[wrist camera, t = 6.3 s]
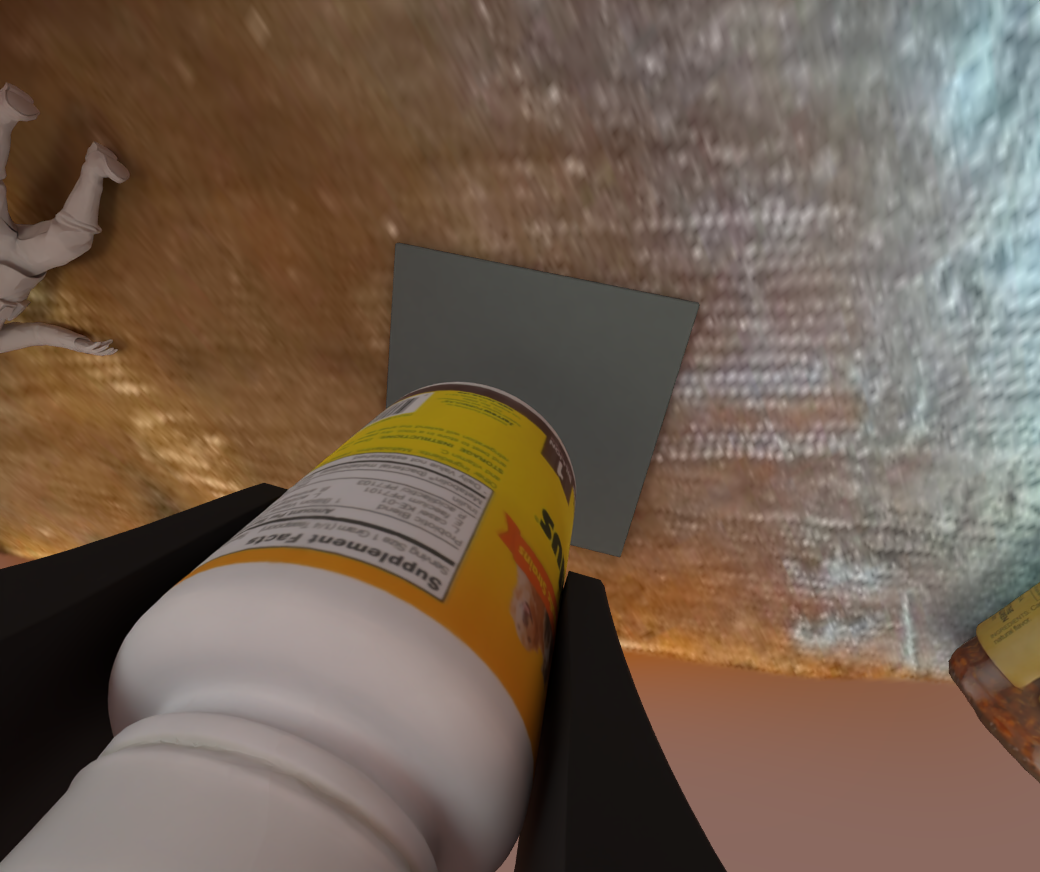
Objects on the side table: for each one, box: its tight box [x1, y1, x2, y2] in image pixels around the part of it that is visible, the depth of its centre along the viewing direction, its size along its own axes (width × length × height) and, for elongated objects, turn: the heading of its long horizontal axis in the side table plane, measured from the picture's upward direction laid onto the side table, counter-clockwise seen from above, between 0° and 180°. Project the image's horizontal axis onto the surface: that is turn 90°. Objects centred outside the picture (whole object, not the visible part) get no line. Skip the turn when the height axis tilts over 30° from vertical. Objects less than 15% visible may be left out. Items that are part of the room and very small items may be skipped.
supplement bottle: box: [0, 382, 576, 872], centre depth 9 cm, size 6×6×10 cm
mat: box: [386, 243, 699, 557], centre depth 19 cm, size 10×10×1 cm
